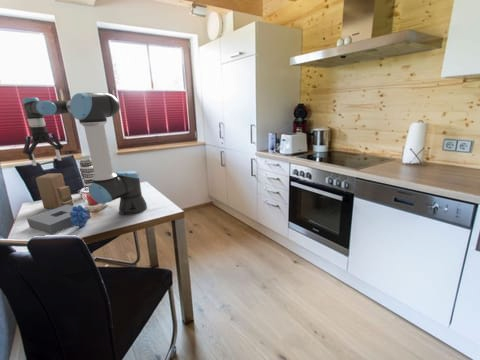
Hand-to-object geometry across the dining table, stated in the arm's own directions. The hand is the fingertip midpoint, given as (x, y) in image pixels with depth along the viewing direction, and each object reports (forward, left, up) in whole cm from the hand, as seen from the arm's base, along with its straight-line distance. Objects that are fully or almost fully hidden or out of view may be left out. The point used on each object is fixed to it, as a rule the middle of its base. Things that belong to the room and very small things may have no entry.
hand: (47, 162), depth 150 cm
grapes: (-42, +13, -28) cm, 52 cm away
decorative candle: (+1, -23, -28) cm, 37 cm away
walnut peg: (-10, +1, -28) cm, 30 cm away
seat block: (-25, +14, -28) cm, 40 cm away
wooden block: (+3, 0, -28) cm, 28 cm away
